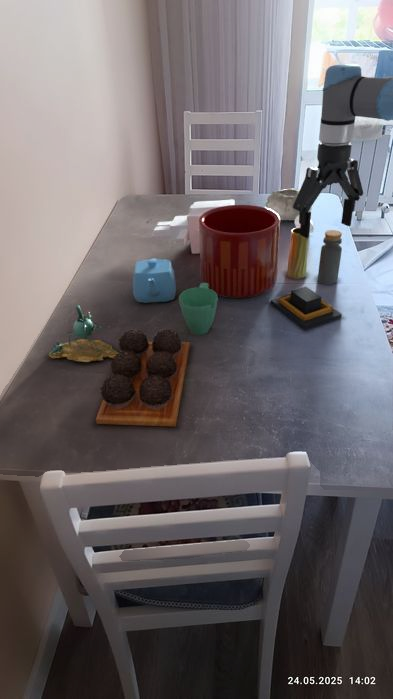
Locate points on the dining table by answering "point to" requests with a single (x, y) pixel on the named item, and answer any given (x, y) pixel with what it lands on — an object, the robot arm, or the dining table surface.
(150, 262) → the teapot
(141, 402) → the chocolate muffin tray
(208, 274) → the planter
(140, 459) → the dining table surface
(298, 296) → the black rectangular block
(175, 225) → the white stepped block
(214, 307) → the mug
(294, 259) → the vase
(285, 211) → the decorative shell
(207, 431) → the dining table surface
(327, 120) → the robot arm
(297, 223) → the roll
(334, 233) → the bottle
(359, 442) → the dining table surface
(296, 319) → the base
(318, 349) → the dining table surface
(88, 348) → the cartoon bug character
